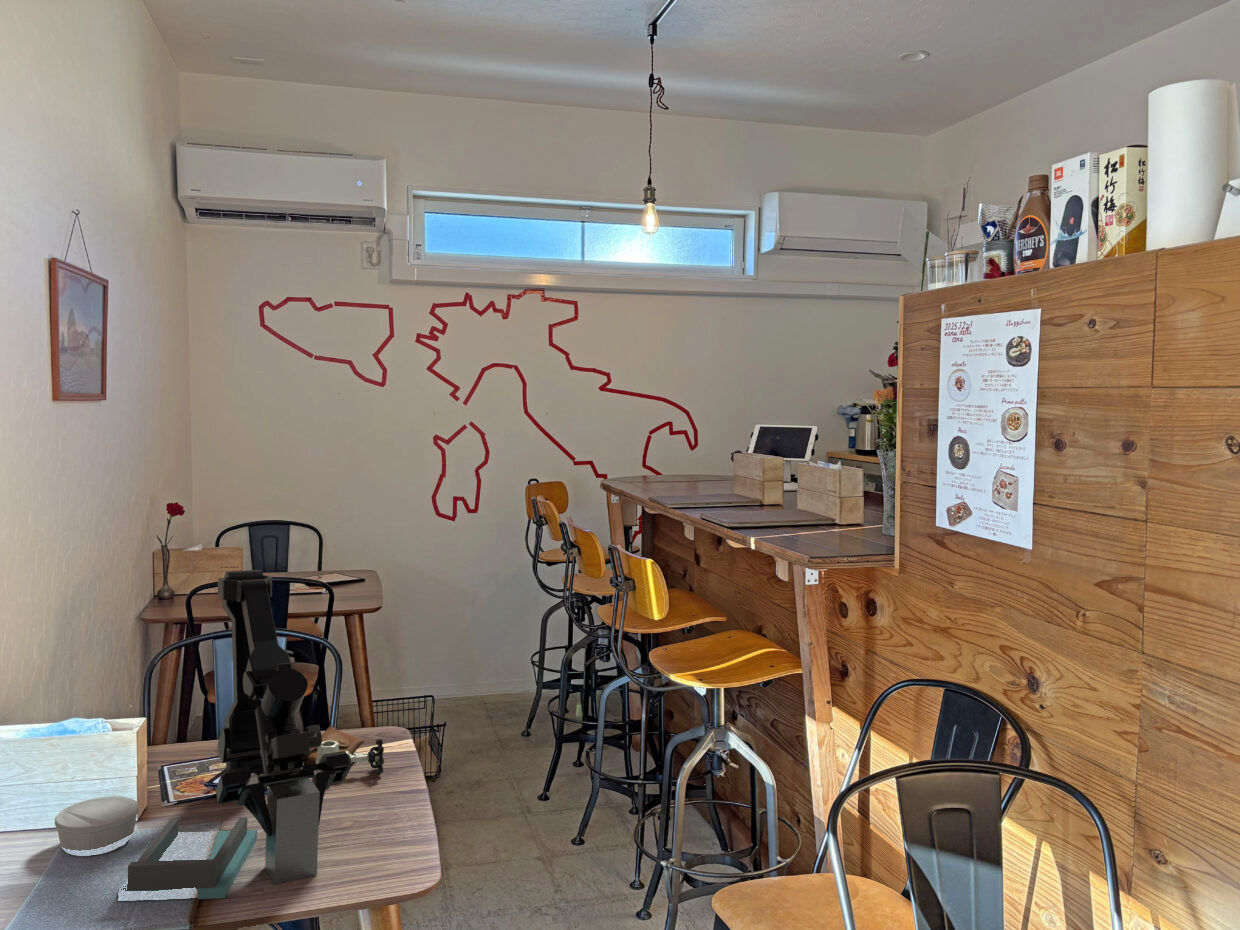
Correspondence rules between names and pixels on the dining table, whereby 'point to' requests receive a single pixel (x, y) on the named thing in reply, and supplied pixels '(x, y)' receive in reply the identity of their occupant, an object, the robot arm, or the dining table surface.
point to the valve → (358, 757)
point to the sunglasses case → (342, 738)
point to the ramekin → (96, 822)
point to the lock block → (292, 830)
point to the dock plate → (193, 863)
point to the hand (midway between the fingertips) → (294, 831)
